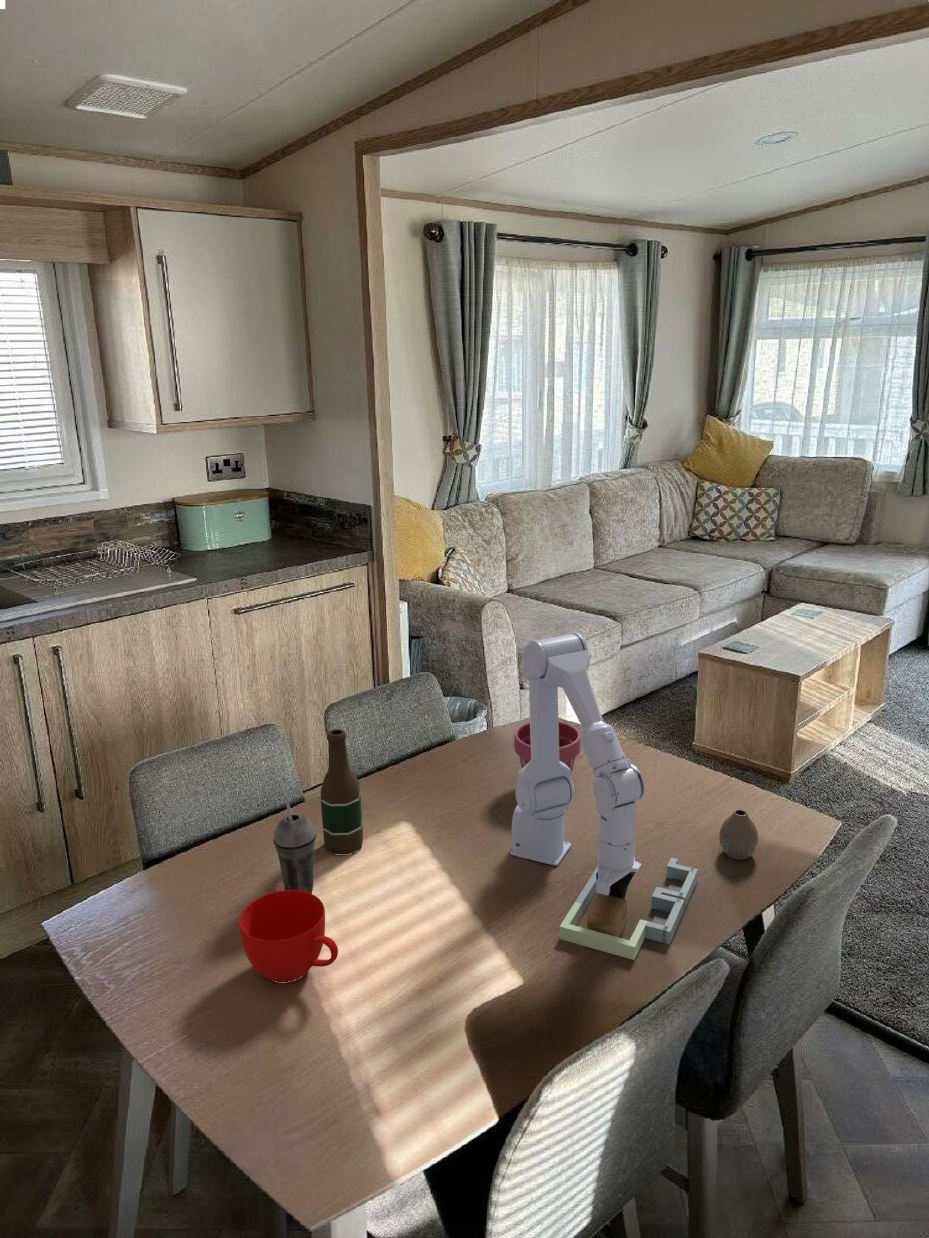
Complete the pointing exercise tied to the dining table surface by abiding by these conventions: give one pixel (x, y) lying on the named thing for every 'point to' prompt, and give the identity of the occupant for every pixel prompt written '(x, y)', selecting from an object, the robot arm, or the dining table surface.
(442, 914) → the dining table surface
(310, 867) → the beverage cup
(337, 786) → the beer bottle
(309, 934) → the ceramic cup
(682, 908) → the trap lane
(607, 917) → the walnut block
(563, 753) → the plant pot
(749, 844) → the vase
